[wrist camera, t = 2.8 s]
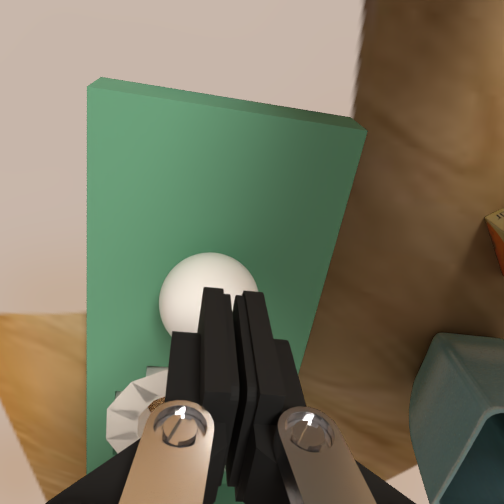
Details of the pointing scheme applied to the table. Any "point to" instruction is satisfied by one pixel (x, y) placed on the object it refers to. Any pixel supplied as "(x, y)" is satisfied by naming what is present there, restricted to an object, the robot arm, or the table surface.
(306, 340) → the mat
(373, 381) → the table surface
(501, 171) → the table surface
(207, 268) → the ball
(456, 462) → the flower pot
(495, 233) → the shoe polish box
